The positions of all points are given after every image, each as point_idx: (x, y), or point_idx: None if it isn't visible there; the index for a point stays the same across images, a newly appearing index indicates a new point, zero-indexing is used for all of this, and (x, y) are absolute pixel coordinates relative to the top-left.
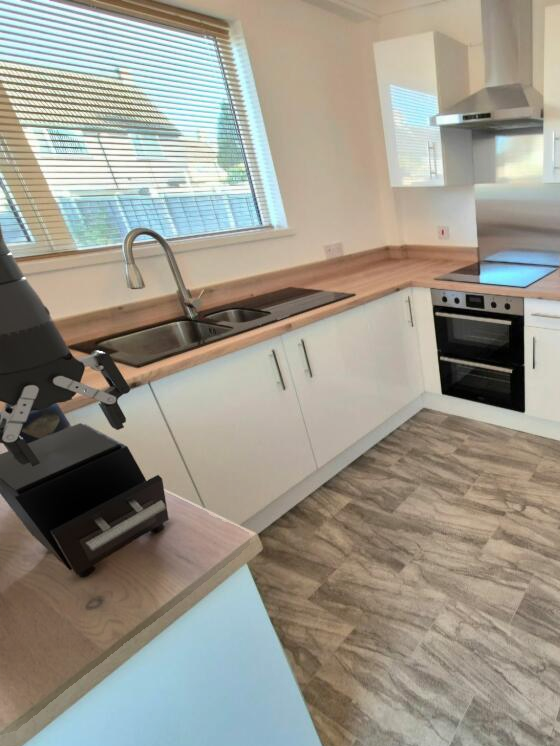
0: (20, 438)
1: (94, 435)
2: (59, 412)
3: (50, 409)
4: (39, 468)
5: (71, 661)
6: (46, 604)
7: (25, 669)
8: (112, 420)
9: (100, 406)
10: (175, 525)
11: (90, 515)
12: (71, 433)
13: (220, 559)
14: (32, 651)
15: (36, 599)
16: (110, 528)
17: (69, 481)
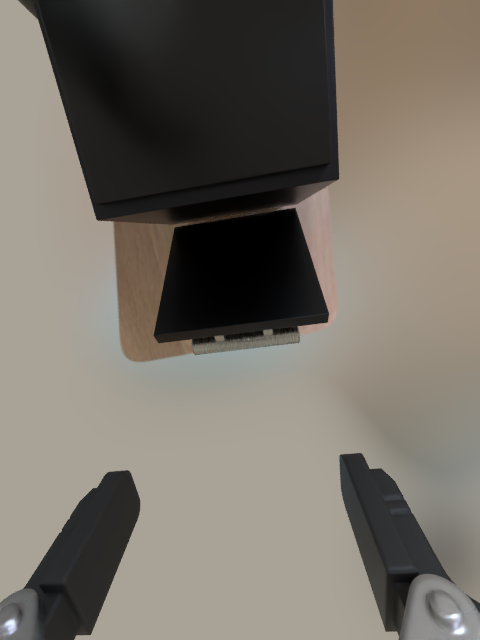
0: (80, 623)
1: None
2: None
3: None
4: (140, 109)
5: (162, 343)
6: (146, 227)
7: (130, 316)
8: (355, 533)
9: (379, 559)
10: (297, 205)
11: (207, 335)
12: None
13: (302, 334)
14: (134, 297)
15: None
16: (224, 345)
17: (195, 206)
